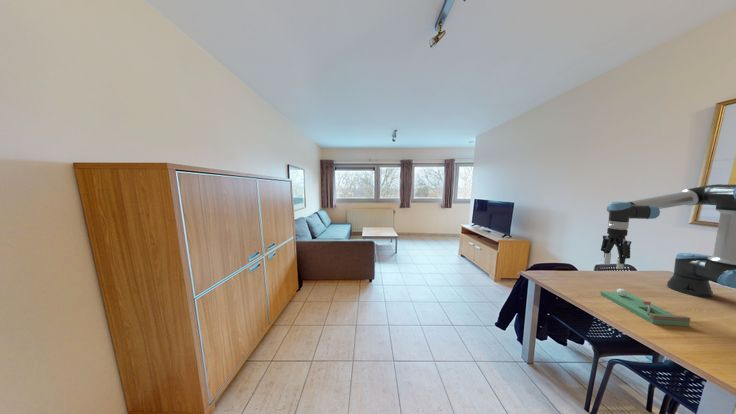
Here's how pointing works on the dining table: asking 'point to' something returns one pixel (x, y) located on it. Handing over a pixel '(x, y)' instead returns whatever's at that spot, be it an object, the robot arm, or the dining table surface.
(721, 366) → the dining table surface
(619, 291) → the ball
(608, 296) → the green
